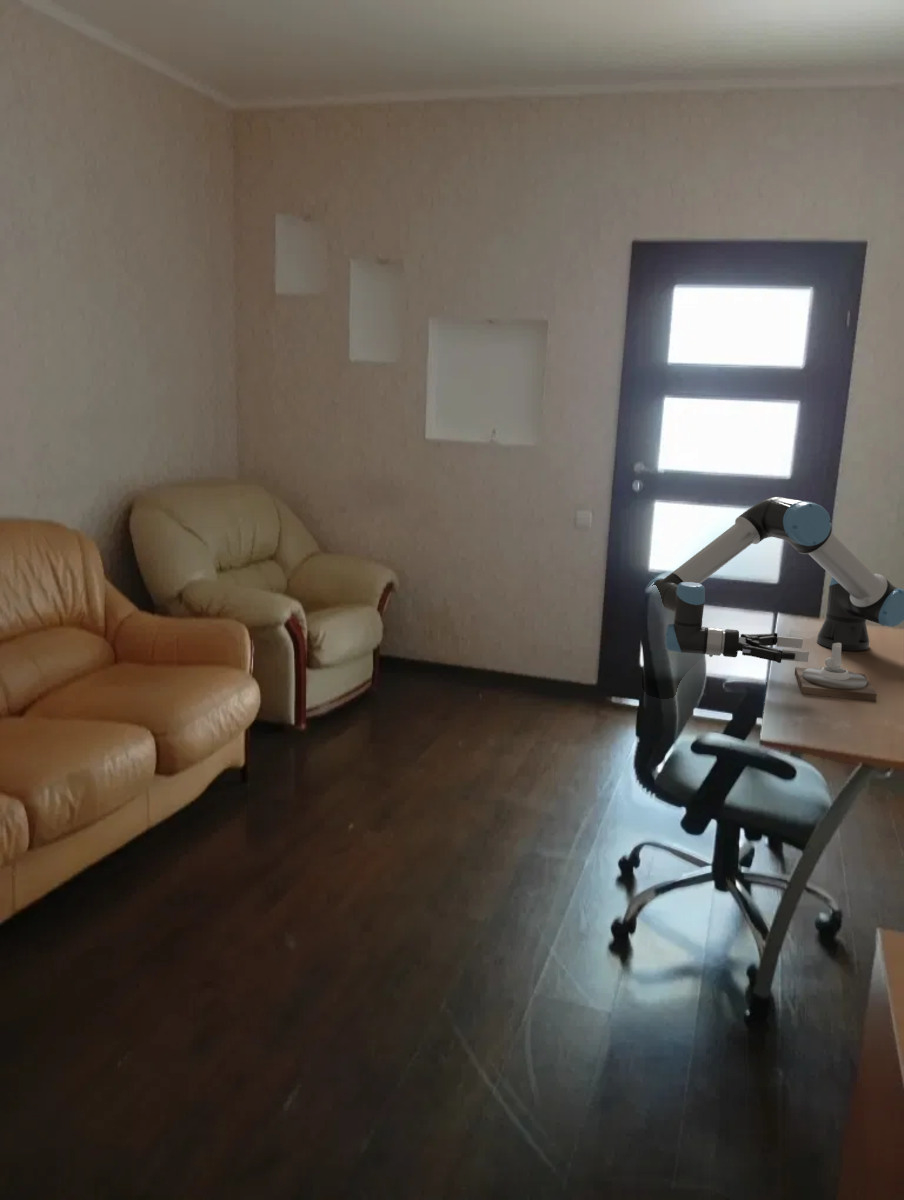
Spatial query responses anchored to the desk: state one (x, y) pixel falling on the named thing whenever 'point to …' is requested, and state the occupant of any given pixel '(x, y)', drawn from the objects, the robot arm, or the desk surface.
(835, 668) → the white vr controller
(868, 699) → the rosette stand
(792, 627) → the desk surface
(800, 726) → the desk surface
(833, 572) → the robot arm
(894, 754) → the desk surface
